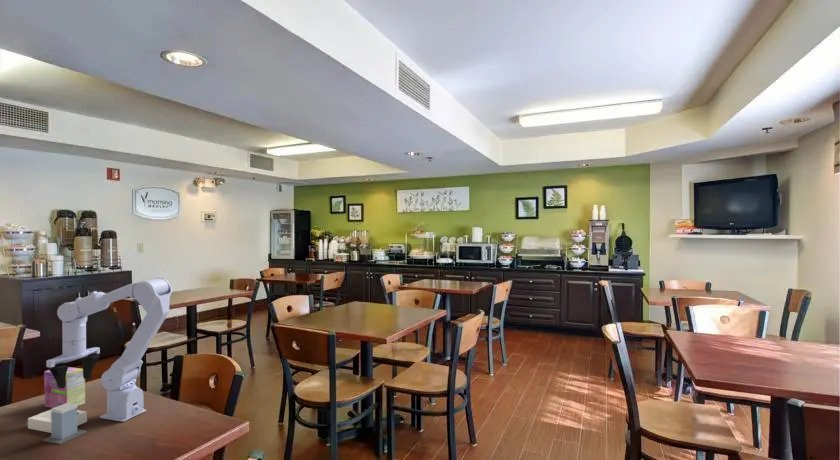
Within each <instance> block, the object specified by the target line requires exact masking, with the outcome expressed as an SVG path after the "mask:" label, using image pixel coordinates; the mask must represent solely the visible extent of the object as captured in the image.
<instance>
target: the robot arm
mask: <svg viewBox="0 0 840 460" xmlns="http://www.w3.org/2000/svg"><path fill="white" fill-rule="evenodd" d="M172 293H173V289H172V286H171V284H170V282H169V281H168V279H166V278H164V277H158V278H154V279H149V280H142V281H139V282H138V281H137V282H135V283H134V282H133V283H129V284H126V285H124V286H122V287H119V288H117V289H114V290H112V291H109V292H103V291H97V290H94V291H92V292H89V295H87V296H84V297H81V296H80V297H77V298H75V300H74V301H70V302H64V303H62V304H61V305H59V307H58V308H57V310H56V312H57V313H56V315H57V317H58V319H59V320H60V321H61V322H62V325H61V326H62V327H61V328H62V354H61V355H58V356H56V357H53V358H50V359H47V360H46V363H45V364H46V368H47V370H49V371H50V372H51V373H52V375H53V376H54V378H55V380H56V383H57V386H58V388H65V385H66V373H67V369H68V367H69V366H68V365H65V364H66V363H69V362H72V361H76V360H79V359H80V360H81V365H82V369H83V378H84V379H85V380H91V379H92V375H93V371H94V368H95V366H96V364H97V362H98V361H99V360H100V353H101V348H100V347H97V346H95V347H90V348H87V322H88V317H89V316H90V315H93V314H95V313H98V312H101V311H104V310H107V309H109V307H110V304H111V303H114V302H116V301H119V300H124V299H126V298H128V297H129V298H131V299H135V300H136V301H137V302H138V304H139V305H140V306H141V307H142V309H143V310H144V311H145V312H146V313H145V315H144V317H143V319H142V321H141V323H140V324H139V326H138V328H137V329H136V331H135V332H134V334H133V336H132V338H131V339H130V340H129V343H128V344H127V346H126V347H125V349H124V351H123V352H122V354H121V356H120V357H119V358H117V359H116V360H115V361H114V362H113V363H112V364H111V366H110V368H109V369H107V370H106V371H104V372H103V373H102V375H101V377H100V382H101V385H102V386H103V388H105V391H106V395H107V397H106V404H107V405H106V406H107V407H106V408H107V409H106V412H105V413H104V414H102V415H99V418H100V419H104V420H105V419H106V420H111V421H116V422H126V421H127V420H131V419H132V418H134V417H137V416H138V415H141V414H143V413H145V412H147V409H146V408H145V409H144V405H145V404H144V400H145V399H144V395H145V394H144V391H143V389H142V388H140V387H138V386H137V385H136V382H137V378H138V377H139V376H140V374H141V368H142V365H143V363H144V361H143V360H142V358H143V356H144V355H145V353H146V351H147V350H148V348H149V346H150V345H151V343H152V341H153V340H154V339H155V337H156V335H157V333H158V332H159V330H160V328H161V326H162V325H163V323H164V322H165V320H166V318H167V317H168V315H169V312H170V304H171V303H170V302H171V301H170V300H171V298H170V297H171V295H172Z"/></svg>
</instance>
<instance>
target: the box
mask: <svg viewBox="0 0 840 460" xmlns="http://www.w3.org/2000/svg"><path fill="white" fill-rule="evenodd" d="M43 378H44V379H43V380H44V381H43V382H44V385H43V386H44V407H45V408H49V409H50V408H51V409H52V408H55V407H57V406H60V405H63V404H66V403H70V404H76V405H77V408H78V407H80V406H82V405H85V404H86V379H84V378H83V368H80V367H79V368H78V367H71V366H68V369H67V373H66V385H65V388H58V386H57V383H56V380H55V378H54V376H53V375H52V373H51V372H50V371H49V369H47V370H45V371H44V372H43Z"/></svg>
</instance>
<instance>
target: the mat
mask: <svg viewBox="0 0 840 460" xmlns="http://www.w3.org/2000/svg"><path fill="white" fill-rule="evenodd" d="M87 432H88V431H87V430H84V429H79V428H77V433H76V434H73V435H71V436H69V437H67V438H64V439H57V438H52V437H51V435H50V436H48V437H46V438H44V439H42V441H43V442H45V443H51V444H55V445H62V444H64V443H67V442H68V441H71V440H73V439H75V438H78V437H79V436H82V435H84V434H86V433H87Z"/></svg>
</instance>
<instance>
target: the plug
mask: <svg viewBox="0 0 840 460" xmlns="http://www.w3.org/2000/svg"><path fill="white" fill-rule="evenodd" d="M50 410H51V435H50V436H51V437H52V438H57V439H64V438H67V437H69V436H71V435H73V434H76V433H77V429H78V426H77V410H78V407H77V405H76V404H70V403H66V404H63V405H60V406H57V407H55V408H51V409H50Z"/></svg>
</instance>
